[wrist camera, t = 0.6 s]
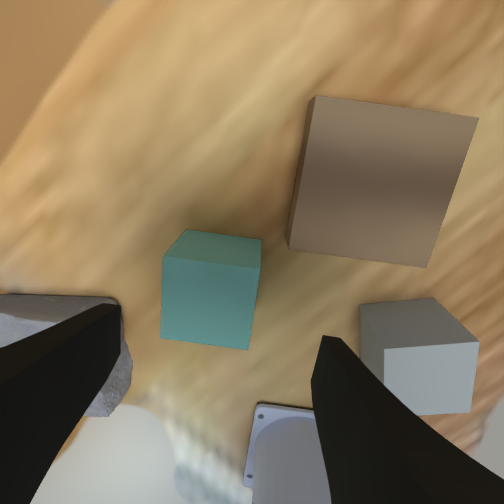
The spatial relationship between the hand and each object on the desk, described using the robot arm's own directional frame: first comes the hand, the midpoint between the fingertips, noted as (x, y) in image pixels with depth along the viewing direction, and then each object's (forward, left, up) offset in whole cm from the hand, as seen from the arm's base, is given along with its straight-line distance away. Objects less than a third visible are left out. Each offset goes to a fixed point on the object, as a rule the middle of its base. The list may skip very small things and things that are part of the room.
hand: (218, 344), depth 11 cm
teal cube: (-2, +1, -10) cm, 11 cm away
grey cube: (-5, -12, -10) cm, 16 cm away
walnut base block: (+5, -7, -11) cm, 14 cm away
